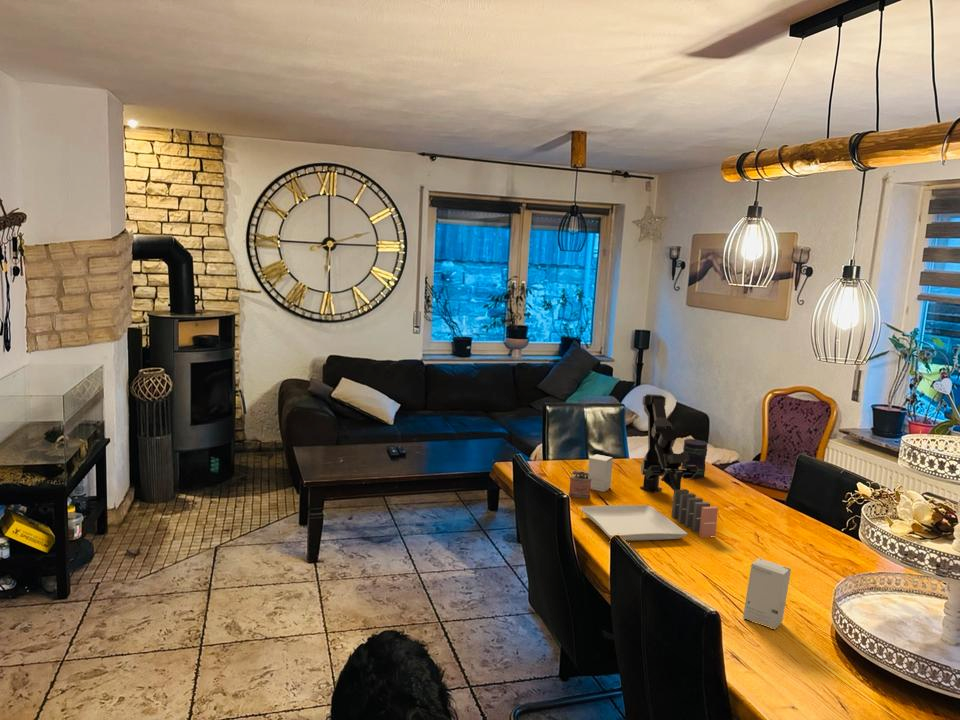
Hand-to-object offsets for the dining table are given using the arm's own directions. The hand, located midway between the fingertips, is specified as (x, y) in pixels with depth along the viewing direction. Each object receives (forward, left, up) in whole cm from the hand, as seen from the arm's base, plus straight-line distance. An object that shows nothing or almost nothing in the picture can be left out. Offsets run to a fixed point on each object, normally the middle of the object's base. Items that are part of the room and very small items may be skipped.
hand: (678, 493), depth 250 cm
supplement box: (-3, -36, -9) cm, 37 cm away
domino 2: (+3, +5, -8) cm, 10 cm away
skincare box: (+52, +55, -9) cm, 76 cm away
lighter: (+12, -34, -9) cm, 37 cm away
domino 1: (+1, +1, -8) cm, 9 cm away
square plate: (+24, -3, -9) cm, 26 cm away
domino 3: (+5, +9, -8) cm, 13 cm away
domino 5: (+10, +17, -8) cm, 21 cm away
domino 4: (+7, +13, -8) cm, 17 cm away
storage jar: (-53, -23, -9) cm, 58 cm away
